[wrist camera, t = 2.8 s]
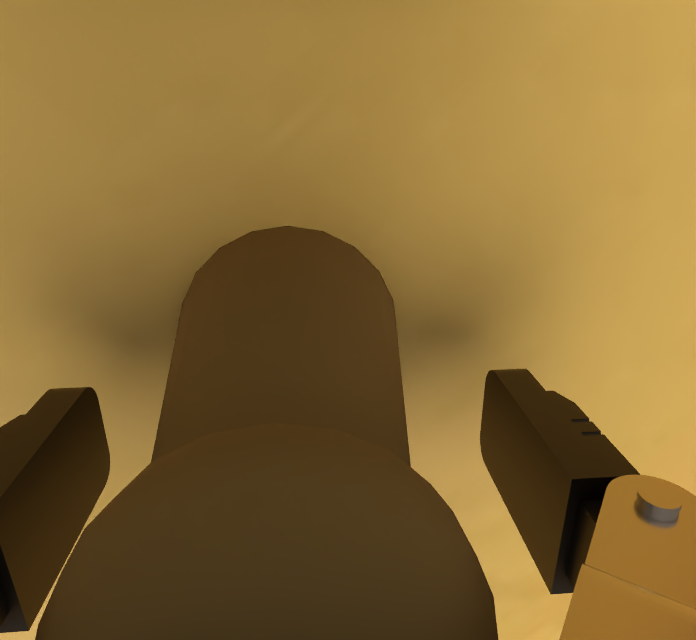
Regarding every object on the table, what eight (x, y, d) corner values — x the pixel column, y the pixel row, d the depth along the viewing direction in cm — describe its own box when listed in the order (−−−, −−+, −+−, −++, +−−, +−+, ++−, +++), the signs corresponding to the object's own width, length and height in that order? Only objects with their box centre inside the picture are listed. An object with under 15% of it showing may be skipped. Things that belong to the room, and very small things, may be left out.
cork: (312, 178, 13) (352, 412, 3) (436, 351, 16) (695, 819, 5) (132, 312, 14) (-277, 822, 4) (272, 458, 16) (227, 1030, 6)
